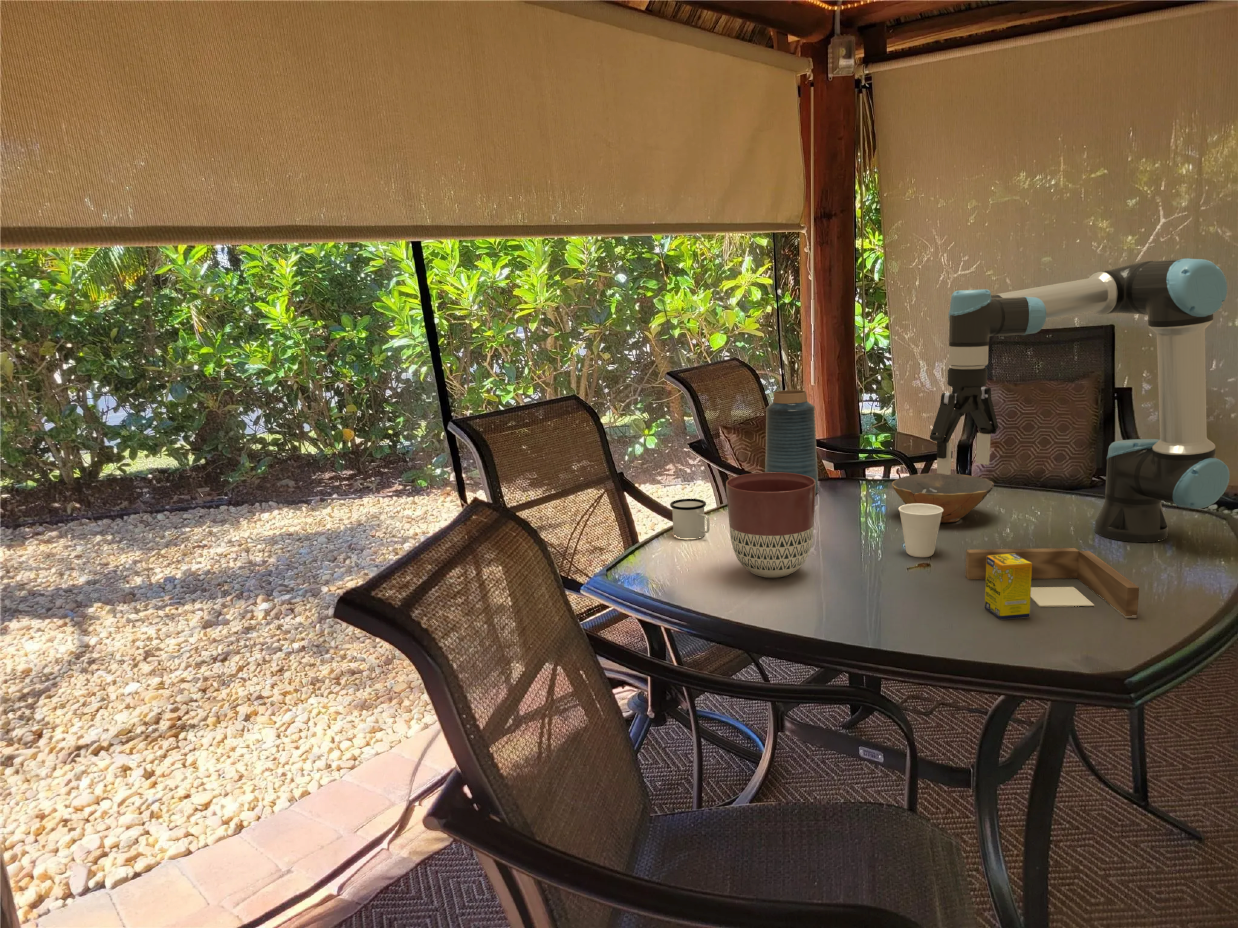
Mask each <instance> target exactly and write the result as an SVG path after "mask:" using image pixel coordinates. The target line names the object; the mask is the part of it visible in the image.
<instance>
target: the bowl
mask: <svg viewBox="0 0 1238 928" xmlns="http://www.w3.org/2000/svg"><path fill="white" fill-rule="evenodd" d="M994 485H995V484H994V482H993V481H991V480H989V479H987V478H984V477H979V476H974V475H968V474H960V473H951V474H949V475H947V474H941V473H918V474H910V475H906V476H902V477H899V478H897V479H895V480H894V481H892V483H891V486H892V488H893V490H894V491H895V493H896V494H897V495H898V497H899V498H900V499H901V501H902V502H903V503H904V505H906V504H915V503H922V504H932V505H936V506H939V507H941V508H943V510H944V511H943V512H942V516H941V521H940V523H955V522H959V521H960V520H961V519H962V518H964V517H965V516H966V515H967V514H969V513H970V512H972V511H973V510H974V509H975V508H976V507H977V506H978V505H979V504H980V503H981V502H983V500H984V499H985V498H986V497H987V495H988V494H990V492H991V491H992V490H993V488H994V487H995V486H994Z"/></svg>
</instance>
